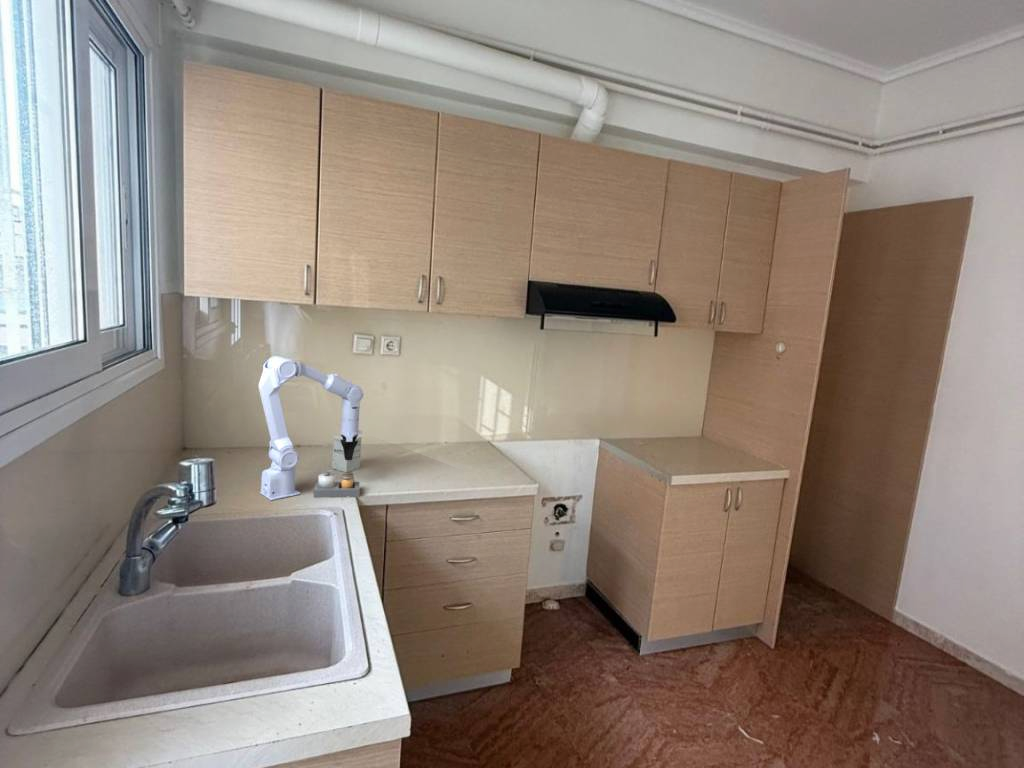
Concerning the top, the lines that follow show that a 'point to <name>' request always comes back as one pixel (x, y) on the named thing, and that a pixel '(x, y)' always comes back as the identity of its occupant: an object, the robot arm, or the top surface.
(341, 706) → the top surface
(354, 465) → the supplement box
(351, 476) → the small orange jar
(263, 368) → the robot arm
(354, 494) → the tray
